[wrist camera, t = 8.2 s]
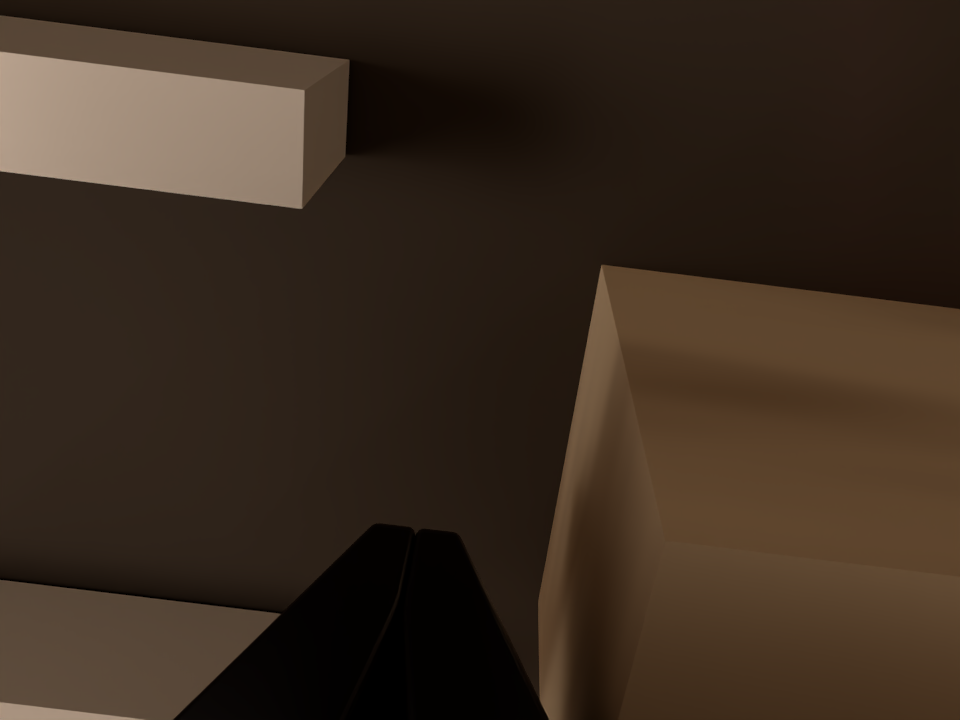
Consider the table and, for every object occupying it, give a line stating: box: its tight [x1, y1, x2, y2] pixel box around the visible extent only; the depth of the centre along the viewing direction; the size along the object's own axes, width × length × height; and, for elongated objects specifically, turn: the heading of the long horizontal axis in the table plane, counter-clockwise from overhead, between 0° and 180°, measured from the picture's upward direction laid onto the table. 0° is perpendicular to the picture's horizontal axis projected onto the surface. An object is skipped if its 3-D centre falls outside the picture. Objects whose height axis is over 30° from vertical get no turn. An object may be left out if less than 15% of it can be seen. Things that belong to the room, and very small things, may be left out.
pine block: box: [538, 265, 960, 720], centre depth 9 cm, size 5×5×5 cm
